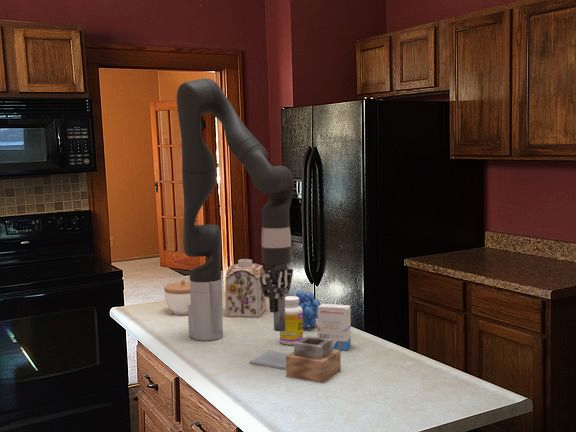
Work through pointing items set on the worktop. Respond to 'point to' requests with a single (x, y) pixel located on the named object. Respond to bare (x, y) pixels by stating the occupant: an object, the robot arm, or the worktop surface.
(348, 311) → the ink box
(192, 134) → the robot arm
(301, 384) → the worktop surface
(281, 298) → the chuck key
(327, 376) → the block
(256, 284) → the decorative jar
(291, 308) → the supplement bottle
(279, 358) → the mat
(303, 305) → the grapes
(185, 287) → the lidded bowl
